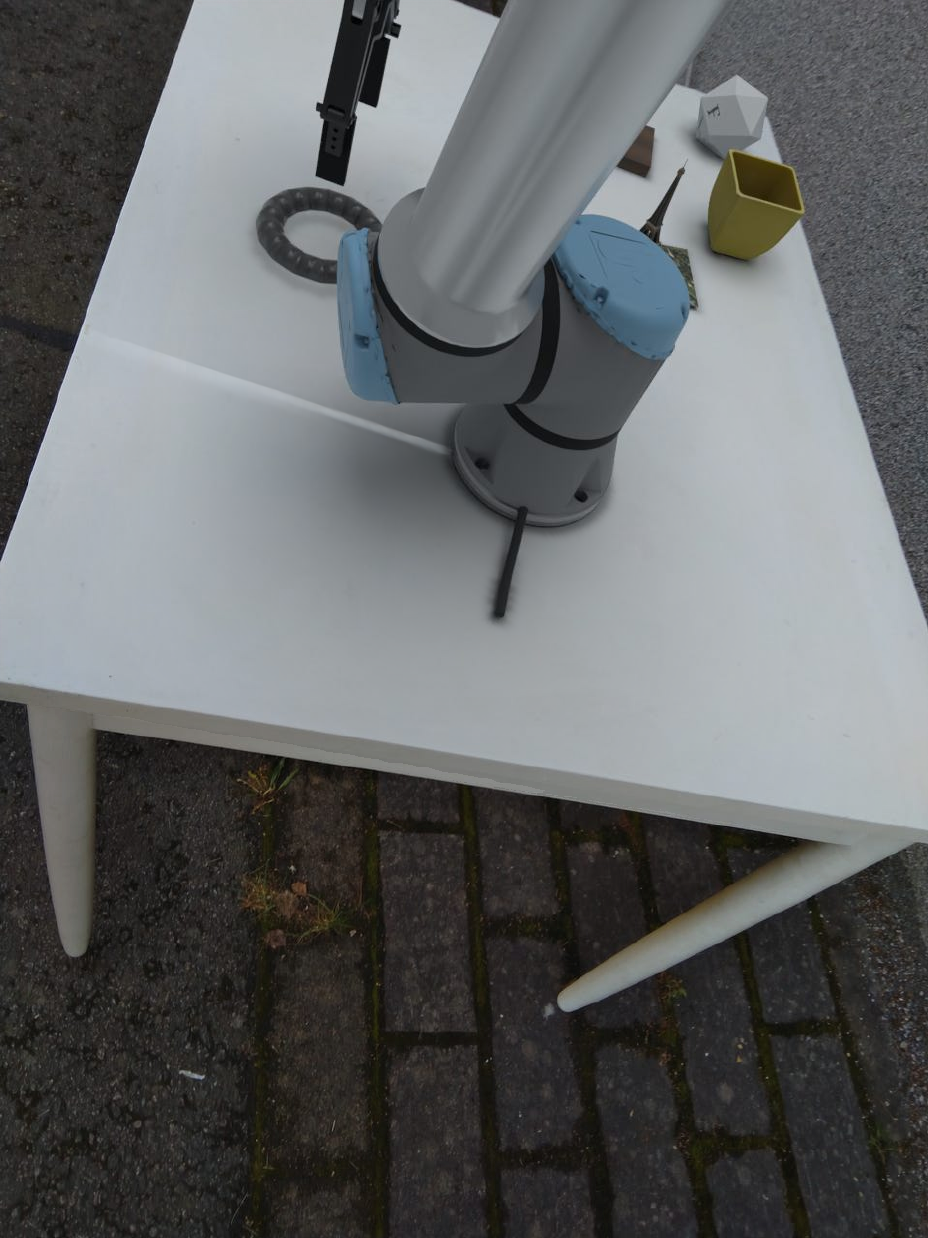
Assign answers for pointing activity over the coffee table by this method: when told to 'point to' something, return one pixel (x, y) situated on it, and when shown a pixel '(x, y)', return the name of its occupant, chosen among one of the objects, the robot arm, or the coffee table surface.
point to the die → (731, 116)
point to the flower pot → (752, 205)
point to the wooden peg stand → (639, 153)
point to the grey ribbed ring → (303, 200)
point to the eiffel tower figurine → (674, 253)
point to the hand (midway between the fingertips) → (347, 138)
